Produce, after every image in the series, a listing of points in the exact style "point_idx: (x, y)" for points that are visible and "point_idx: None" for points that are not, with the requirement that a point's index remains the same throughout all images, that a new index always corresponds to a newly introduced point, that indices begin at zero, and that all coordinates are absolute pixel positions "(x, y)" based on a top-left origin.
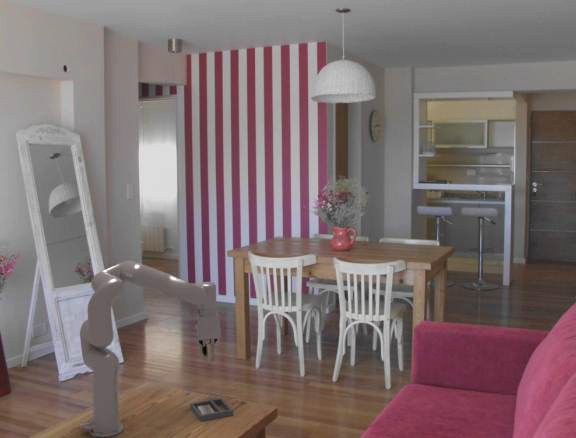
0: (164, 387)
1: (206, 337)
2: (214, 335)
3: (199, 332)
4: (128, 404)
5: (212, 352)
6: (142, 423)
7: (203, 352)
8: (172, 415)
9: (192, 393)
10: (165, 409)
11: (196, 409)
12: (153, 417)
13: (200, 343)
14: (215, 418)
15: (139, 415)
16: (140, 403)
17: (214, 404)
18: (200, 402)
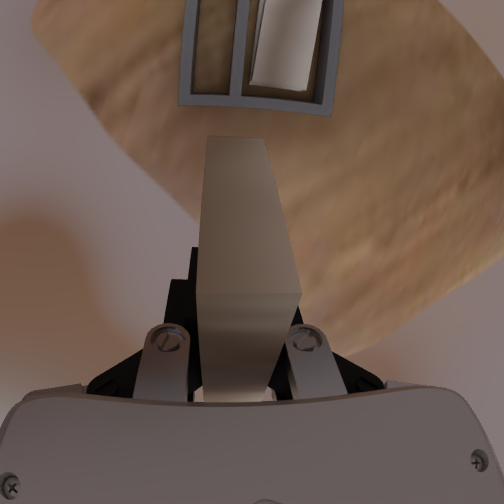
0: None
1: (340, 437)
2: (122, 464)
3: (499, 499)
4: (434, 262)
5: (219, 186)
6: (471, 117)
7: None
8: (388, 113)
9: None
10: (384, 175)
11: (334, 43)
12: (437, 136)
13: (358, 370)
14: None
15: (455, 175)
16: (412, 256)
17: (239, 50)
18: (287, 103)
